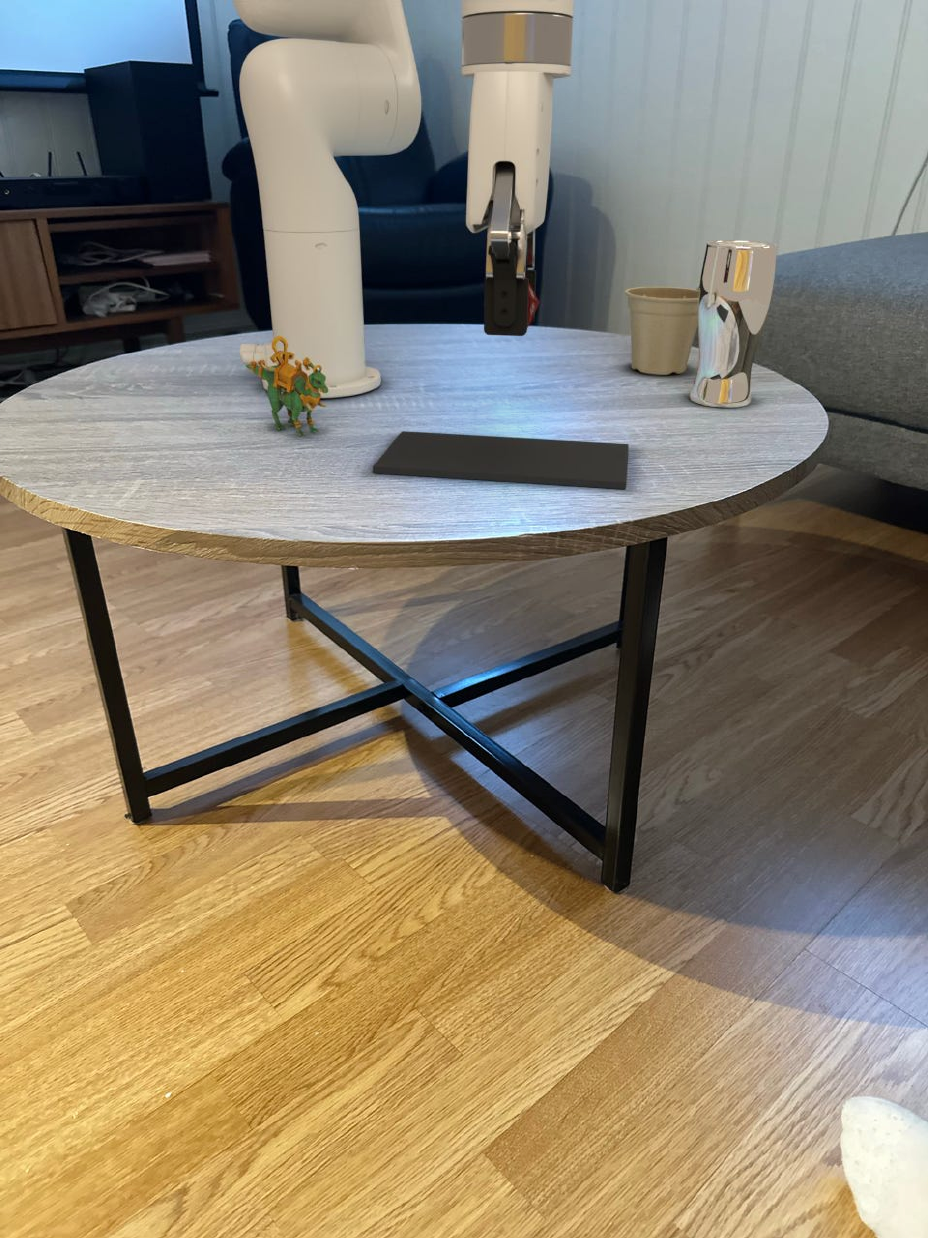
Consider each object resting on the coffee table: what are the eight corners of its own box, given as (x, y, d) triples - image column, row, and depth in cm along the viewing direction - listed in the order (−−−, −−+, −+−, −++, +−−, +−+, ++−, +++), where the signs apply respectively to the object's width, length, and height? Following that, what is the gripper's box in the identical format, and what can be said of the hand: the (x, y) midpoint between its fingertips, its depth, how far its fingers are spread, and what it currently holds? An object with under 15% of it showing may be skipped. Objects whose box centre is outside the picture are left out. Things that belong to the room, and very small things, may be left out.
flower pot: (689, 361, 110) (698, 285, 106) (710, 379, 101) (720, 298, 97) (612, 361, 109) (618, 285, 105) (626, 379, 101) (634, 298, 97)
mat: (372, 473, 72) (372, 465, 72) (402, 437, 81) (402, 430, 81) (625, 489, 69) (626, 481, 69) (628, 450, 78) (628, 443, 78)
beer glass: (757, 411, 89) (783, 248, 82) (685, 407, 91) (705, 245, 84) (752, 394, 95) (776, 240, 88) (685, 390, 97) (703, 238, 90)
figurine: (316, 444, 79) (309, 348, 75) (237, 418, 86) (227, 329, 82) (343, 437, 81) (338, 343, 77) (264, 412, 88) (255, 325, 84)
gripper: (481, 62, 70) (479, 310, 78) (438, 40, 55) (441, 348, 63) (579, 61, 68) (566, 312, 77) (561, 38, 54) (547, 352, 62)
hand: (509, 326), depth 70 cm, fingers closed on dice, 4 cm apart
